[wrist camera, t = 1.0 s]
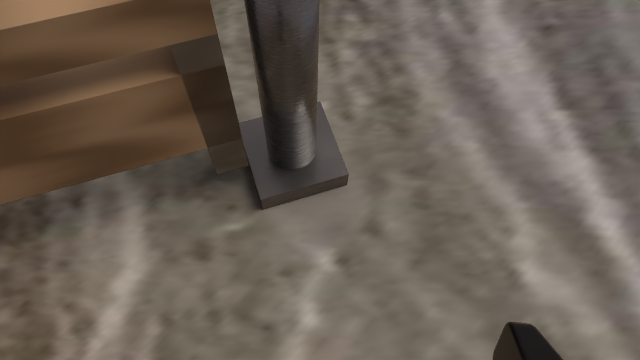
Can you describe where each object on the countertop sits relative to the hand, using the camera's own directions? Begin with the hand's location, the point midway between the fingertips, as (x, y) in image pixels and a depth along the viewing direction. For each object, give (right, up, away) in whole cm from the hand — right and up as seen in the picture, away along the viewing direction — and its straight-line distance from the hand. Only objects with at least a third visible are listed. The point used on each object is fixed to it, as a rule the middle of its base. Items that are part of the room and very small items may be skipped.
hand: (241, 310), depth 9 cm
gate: (-9, +2, +15) cm, 17 cm away
